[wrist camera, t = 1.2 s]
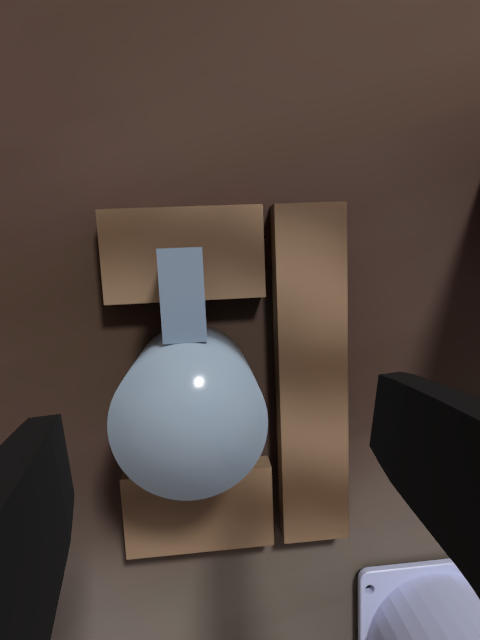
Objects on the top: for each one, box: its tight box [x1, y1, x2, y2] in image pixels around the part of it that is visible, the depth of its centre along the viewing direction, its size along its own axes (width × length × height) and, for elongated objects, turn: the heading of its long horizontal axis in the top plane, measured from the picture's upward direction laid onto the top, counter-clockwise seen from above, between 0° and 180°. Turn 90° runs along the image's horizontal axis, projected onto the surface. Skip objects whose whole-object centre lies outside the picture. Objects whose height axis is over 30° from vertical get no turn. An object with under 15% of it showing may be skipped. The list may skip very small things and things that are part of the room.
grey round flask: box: [107, 247, 268, 501], centre depth 17 cm, size 9×6×6 cm, turn 2°
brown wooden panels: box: [95, 201, 349, 560], centre depth 20 cm, size 16×11×1 cm
